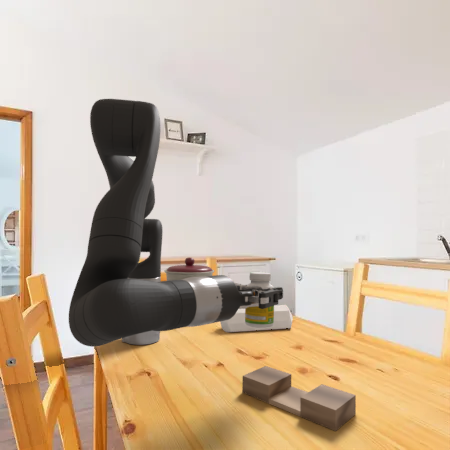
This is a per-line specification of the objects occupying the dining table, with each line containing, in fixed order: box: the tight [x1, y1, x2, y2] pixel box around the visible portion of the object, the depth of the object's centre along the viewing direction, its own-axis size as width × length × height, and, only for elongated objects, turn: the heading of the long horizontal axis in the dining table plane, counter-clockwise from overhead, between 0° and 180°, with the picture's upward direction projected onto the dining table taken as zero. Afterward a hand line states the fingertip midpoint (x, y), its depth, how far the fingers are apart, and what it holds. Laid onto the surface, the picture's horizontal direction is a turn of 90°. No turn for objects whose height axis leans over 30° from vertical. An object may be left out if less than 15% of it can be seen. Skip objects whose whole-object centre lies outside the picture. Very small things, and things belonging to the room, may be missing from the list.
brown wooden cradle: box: [241, 365, 357, 432], centre depth 59 cm, size 7×18×3 cm, turn 46°
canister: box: [164, 257, 215, 281], centre depth 125 cm, size 18×18×21 cm
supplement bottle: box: [245, 271, 275, 328], centre depth 65 cm, size 5×5×10 cm
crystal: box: [219, 304, 293, 333], centre depth 109 cm, size 7×7×24 cm
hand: (268, 291), depth 67 cm, fingers closed on supplement bottle, 5 cm apart
